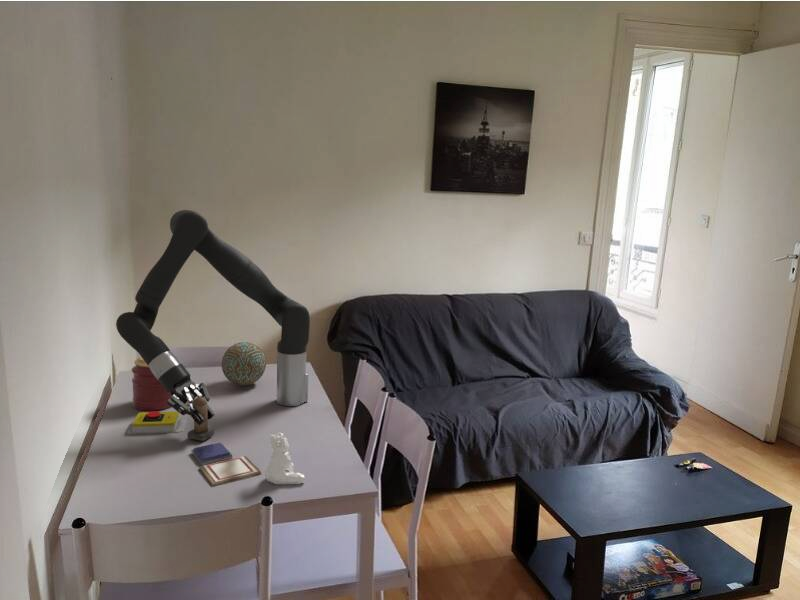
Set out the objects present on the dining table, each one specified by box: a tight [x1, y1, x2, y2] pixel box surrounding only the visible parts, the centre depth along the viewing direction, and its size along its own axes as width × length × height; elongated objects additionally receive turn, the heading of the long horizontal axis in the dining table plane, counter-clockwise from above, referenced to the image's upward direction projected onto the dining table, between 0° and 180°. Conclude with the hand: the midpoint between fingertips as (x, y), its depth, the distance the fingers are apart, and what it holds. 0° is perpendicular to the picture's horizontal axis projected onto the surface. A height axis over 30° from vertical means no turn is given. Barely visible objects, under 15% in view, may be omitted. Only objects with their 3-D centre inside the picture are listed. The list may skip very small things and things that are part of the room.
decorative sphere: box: [221, 341, 267, 386], centre depth 212 cm, size 15×15×15 cm
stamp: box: [187, 396, 215, 442], centre depth 167 cm, size 5×5×11 cm
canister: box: [131, 356, 172, 412], centre depth 189 cm, size 13×13×18 cm
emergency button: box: [126, 410, 188, 435], centre depth 174 cm, size 9×4×15 cm
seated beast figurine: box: [264, 431, 306, 485], centre depth 147 cm, size 10×9×12 cm
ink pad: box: [190, 442, 233, 466], centre depth 158 cm, size 8×8×2 cm
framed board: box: [198, 455, 262, 487], centre depth 150 cm, size 12×10×1 cm
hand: (206, 419), depth 167 cm, fingers closed on stamp, 3 cm apart
